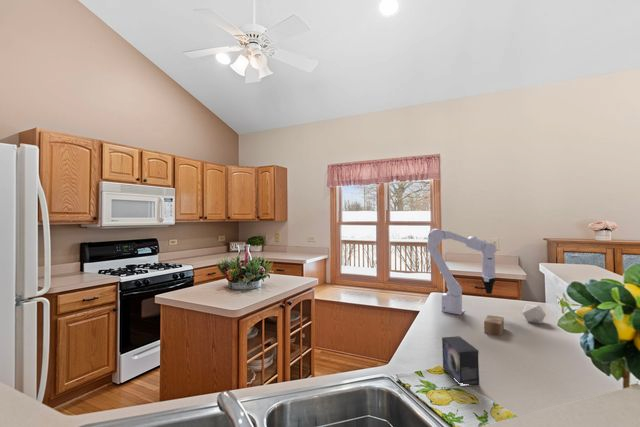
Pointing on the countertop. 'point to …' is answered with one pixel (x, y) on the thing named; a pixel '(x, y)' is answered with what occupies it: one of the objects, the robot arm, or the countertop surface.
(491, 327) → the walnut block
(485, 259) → the robot arm
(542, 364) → the countertop surface
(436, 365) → the countertop surface
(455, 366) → the small box
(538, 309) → the die
